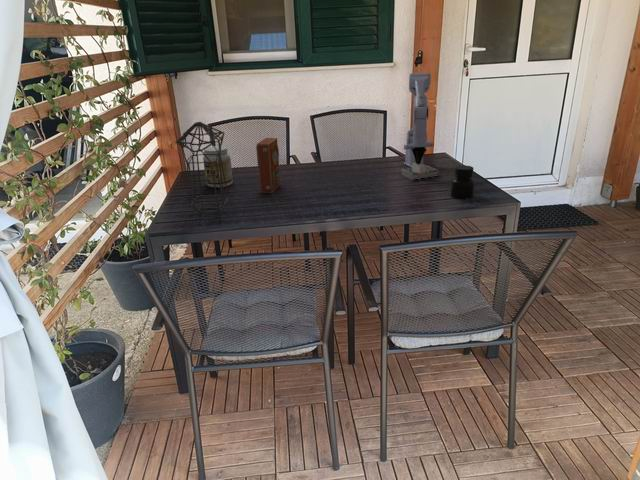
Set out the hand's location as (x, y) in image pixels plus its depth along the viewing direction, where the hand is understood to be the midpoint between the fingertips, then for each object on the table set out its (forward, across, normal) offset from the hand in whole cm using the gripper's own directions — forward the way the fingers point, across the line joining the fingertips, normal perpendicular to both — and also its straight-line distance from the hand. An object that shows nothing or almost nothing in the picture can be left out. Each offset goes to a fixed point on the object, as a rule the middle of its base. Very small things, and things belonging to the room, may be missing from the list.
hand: (418, 163), depth 212 cm
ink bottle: (+6, +1, -33) cm, 34 cm away
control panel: (+6, -68, +11) cm, 69 cm away
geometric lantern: (+6, -97, -10) cm, 98 cm away
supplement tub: (+6, -88, +28) cm, 93 cm away
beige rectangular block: (+5, 0, -1) cm, 5 cm away
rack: (+6, +1, 0) cm, 6 cm away
